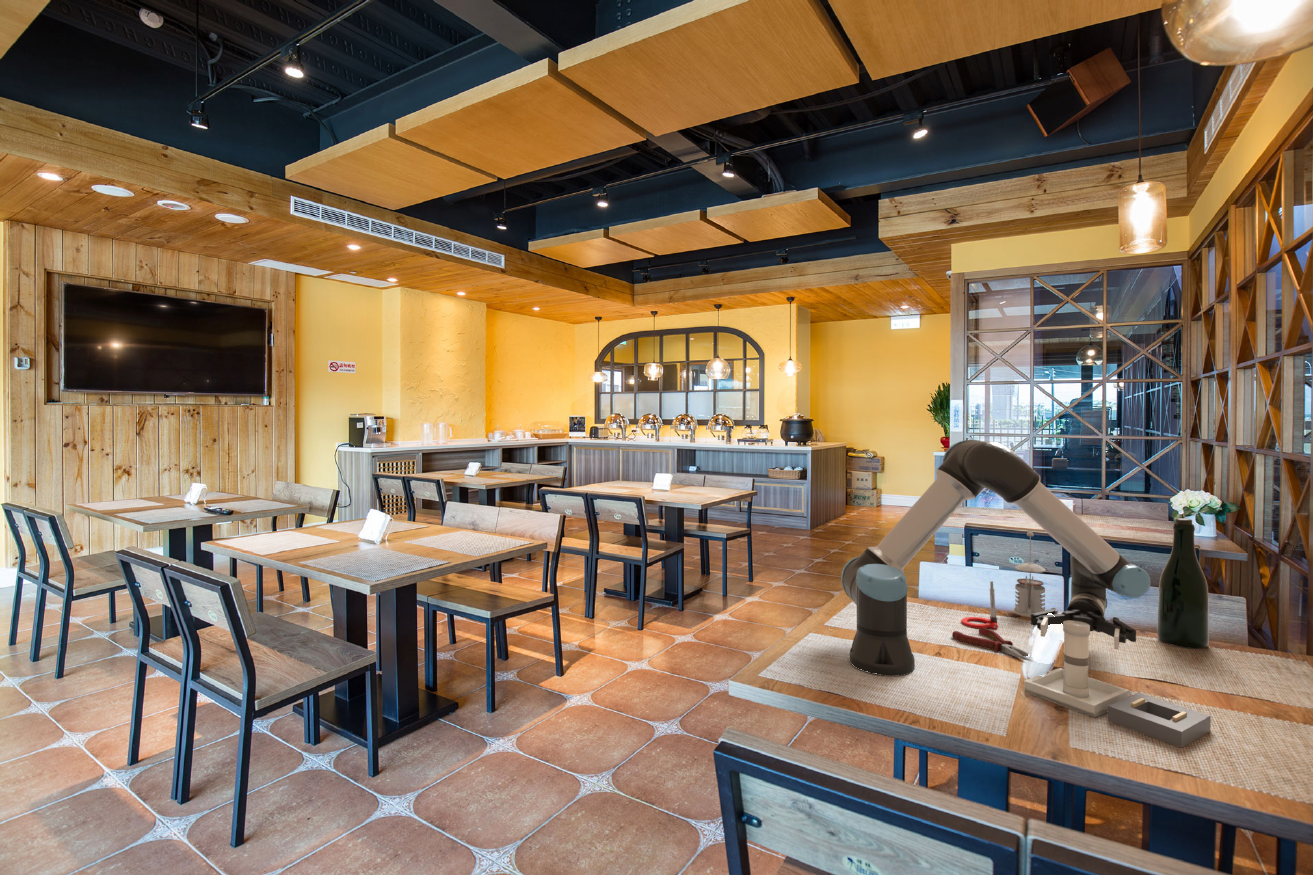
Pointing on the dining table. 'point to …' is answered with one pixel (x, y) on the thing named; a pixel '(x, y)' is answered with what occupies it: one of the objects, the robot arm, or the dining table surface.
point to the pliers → (990, 642)
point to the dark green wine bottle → (1183, 593)
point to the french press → (1029, 589)
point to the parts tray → (1053, 692)
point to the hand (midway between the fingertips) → (1078, 636)
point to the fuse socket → (1159, 719)
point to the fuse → (1076, 658)
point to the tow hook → (989, 622)
